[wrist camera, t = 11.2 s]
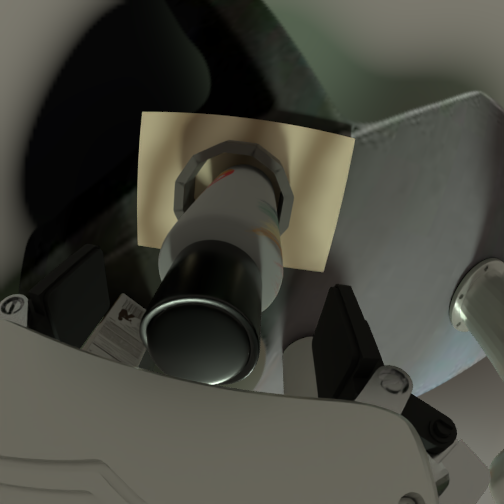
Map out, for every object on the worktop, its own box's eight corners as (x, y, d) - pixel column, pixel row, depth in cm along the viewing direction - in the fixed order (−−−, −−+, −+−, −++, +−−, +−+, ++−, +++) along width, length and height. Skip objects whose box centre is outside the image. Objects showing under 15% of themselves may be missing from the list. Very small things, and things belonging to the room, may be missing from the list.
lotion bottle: (201, 197, 26) (87, 349, 8) (238, 150, 24) (159, 228, 6) (247, 233, 27) (218, 424, 9) (286, 190, 25) (333, 352, 7)
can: (296, 325, 34) (305, 405, 23) (346, 339, 35) (367, 412, 24) (273, 362, 37) (273, 437, 26) (319, 373, 38) (330, 443, 27)
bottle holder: (351, 138, 24) (370, 141, 19) (321, 266, 30) (330, 293, 25) (147, 112, 24) (123, 110, 19) (142, 240, 30) (122, 262, 25)
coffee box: (135, 351, 38) (96, 438, 23) (100, 327, 36) (50, 409, 21) (162, 319, 34) (117, 422, 20) (121, 290, 33) (58, 383, 18)
